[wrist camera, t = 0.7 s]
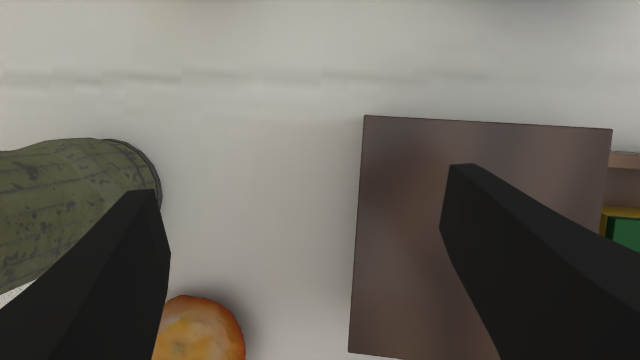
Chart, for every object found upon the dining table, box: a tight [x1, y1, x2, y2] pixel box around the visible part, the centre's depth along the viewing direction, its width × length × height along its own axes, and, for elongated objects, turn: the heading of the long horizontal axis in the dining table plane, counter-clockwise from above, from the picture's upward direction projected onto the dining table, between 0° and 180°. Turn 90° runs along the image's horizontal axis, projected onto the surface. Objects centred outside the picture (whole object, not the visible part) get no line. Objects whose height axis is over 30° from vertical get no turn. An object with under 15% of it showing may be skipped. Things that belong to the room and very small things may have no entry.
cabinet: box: [348, 115, 613, 360], centre depth 30 cm, size 13×14×8 cm
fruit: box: [152, 295, 246, 360], centre depth 34 cm, size 8×8×8 cm
